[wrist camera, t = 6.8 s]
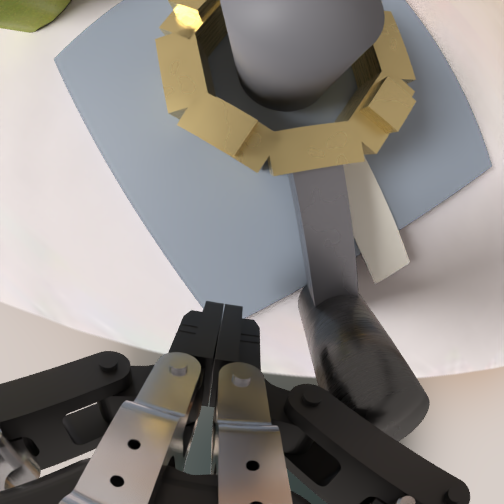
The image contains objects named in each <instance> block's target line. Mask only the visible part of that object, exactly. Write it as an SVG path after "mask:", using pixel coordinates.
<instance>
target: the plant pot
mask: <svg viewBox="0 0 504 504" xmlns="http://www.w3.org/2000/svg"><path fill="white" fill-rule="evenodd" d="M70 1H71V0H0V28H3V29H10V30H16V31H23V32H35V31H36V30H37V29H38V28H40V27H42V26H44V25H46V24H48V23H50V22H51V21H53V20H54V19H55V18H56V17H57V16H58V15H59V14H60V13H61V12H62V11H63V10H64V9H65V7H66V6H67V5H68V4H69V2H70Z"/></svg>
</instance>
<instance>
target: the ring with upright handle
mask: <svg viewBox="0 0 504 504" xmlns="http://www.w3.org/2000/svg"><path fill="white" fill-rule="evenodd" d="M168 2H169V4H170V5H171V7H172V9H173V11H172V12H171V14H170V15H169V16H168V17H167V18H166V19H165V21H164V22H163V23H162V24H161V25H160V27H159V29H160V30H161V31H162V32H163V34H164V35H165V36H163V37H160V38H157V39H155V43H156V49H157V55H158V61H159V67H160V73H161V78H162V84H163V89H164V95H165V100H166V105H167V110H168V114H170V115H172V116H174V117H176V118H178V119H179V122H178V124H177V125H178V126H179V127H181V128H183V129H185V130H187V131H188V132H190V133H192V134H194V135H195V136H197V137H199V138H201V139H202V140H204V141H206V142H207V143H209V144H211V145H212V146H214V147H216V148H218V149H219V150H221V151H223V152H224V153H226V154H227V155H229V156H231V157H232V158H234V159H236V160H237V161H239V162H241V163H242V164H244V165H245V166H247V167H249V168H250V169H252V170H253V171H255V172H256V173H258V172H259V170H260V169H261V167H262V166H263V164H264V163H265V161H266V160H267V161H268V166H269V171H270V174H271V175H273V176H278V175H284V174H288V177H289V182H290V187H291V192H292V198H293V203H294V208H295V214H296V219H297V225H298V230H299V236H300V242H301V248H302V254H303V260H304V266H305V272H306V279H307V284H306V285H305V287H304V288H303V289H302V291H301V293H300V296H299V300H298V308H299V312H300V316H301V320H302V323H303V327H304V331H305V335H306V339H307V343H308V347H309V350H310V354H311V358H312V362H313V366H314V370H315V374H316V379H317V383H318V386H319V387H321V388H323V389H325V390H326V391H327V392H329V393H330V394H331V395H333V396H334V397H335V398H337V399H338V400H339V401H341V402H342V403H344V404H345V405H346V406H348V407H349V408H350V409H352V410H353V411H355V412H356V413H357V414H359V415H360V416H361V417H363V418H364V419H366V420H367V421H369V422H370V423H371V424H373V425H374V426H376V427H377V428H379V429H380V430H381V431H383V432H384V433H386V434H387V435H389V436H390V437H392V438H393V439H395V440H396V441H400V440H401V439H403V438H404V437H406V436H407V435H408V434H410V433H411V432H412V431H413V430H414V429H415V428H416V427H417V426H418V425H419V424H420V423H421V422H422V420H423V419H424V417H425V415H426V413H427V411H428V409H429V398H428V396H427V394H426V393H425V391H424V389H423V388H422V386H421V385H420V383H419V381H418V380H417V378H416V377H415V375H414V373H413V372H412V370H411V369H410V367H409V366H408V364H407V362H406V361H405V359H404V358H403V356H402V355H401V353H400V352H399V350H398V349H397V347H396V346H395V344H394V343H393V341H392V340H391V338H390V337H389V335H388V334H387V332H386V331H385V330H384V328H383V327H382V325H381V324H380V322H379V321H378V319H377V318H376V317H375V315H374V314H373V312H372V311H371V309H370V308H369V307H368V305H367V304H366V302H365V301H364V300H363V298H362V297H361V296H360V294H359V293H358V280H357V267H356V256H355V246H354V236H353V228H352V220H351V212H350V205H349V198H348V191H347V185H346V179H345V173H344V167H343V164H350V163H357V162H365V159H364V155H368V154H377V153H378V151H379V150H380V148H381V146H382V145H383V143H384V142H385V140H386V139H387V137H388V135H389V134H390V133H394V132H398V131H399V129H400V128H401V126H402V125H403V123H404V121H405V120H406V118H407V116H408V115H409V113H410V111H411V109H412V108H413V106H414V104H415V103H416V100H415V99H413V98H412V96H413V94H414V93H415V91H414V90H413V89H412V88H411V87H409V86H408V85H407V84H408V83H410V82H412V81H414V80H416V78H415V75H414V72H413V68H412V65H411V62H410V59H409V56H408V53H407V50H406V47H405V45H404V42H403V39H402V37H401V34H400V32H399V29H398V27H397V24H396V22H395V19H394V17H393V15H392V13H391V11H384V14H385V20H384V27H383V30H382V32H381V35H380V36H379V38H378V39H377V41H376V42H375V43H374V44H373V45H372V46H371V47H370V48H369V49H368V50H366V51H365V52H364V53H363V54H362V55H361V56H360V57H359V58H358V59H357V60H356V61H355V62H354V63H353V64H352V65H351V66H352V70H353V73H354V77H355V80H356V84H357V87H358V88H357V90H356V91H355V93H354V94H353V96H352V97H351V98H350V100H349V101H348V103H347V104H346V106H345V107H344V109H343V110H342V112H341V113H340V115H339V116H338V117H337V119H336V120H335V122H334V123H326V124H318V125H311V126H304V127H298V128H292V129H286V130H280V131H272V130H271V129H269V128H268V127H266V126H264V125H263V124H261V123H260V122H258V120H257V119H255V118H253V117H252V116H250V115H248V114H247V113H245V112H243V111H242V110H240V109H238V108H236V107H235V106H233V105H231V104H229V103H227V102H226V101H224V100H222V99H220V98H218V97H217V96H216V94H215V89H214V85H213V80H212V76H211V72H210V67H209V63H208V57H209V56H210V54H211V53H212V52H213V51H214V49H215V48H216V47H217V46H218V44H219V43H220V42H221V41H222V39H223V38H224V37H225V36H226V35H227V33H228V32H227V28H226V24H225V19H224V15H223V11H222V7H221V3H220V0H168ZM381 2H382V1H381Z"/></svg>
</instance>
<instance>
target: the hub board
mask: <svg viewBox="0 0 504 504" xmlns="http://www.w3.org/2000/svg"><path fill="white" fill-rule="evenodd" d="M381 1H382V2H381ZM220 3H221V7H222V11H223V15H224V19H225V24H226V28H227V32H228V33H227V35H226V36H225V37H224V38H223V39H222V41H221V42H220V43H219V44H218V46H217V47H216V48H215V49H214V51H213V52H212V53H211V54H210V56H209V57H208V63H209V67H210V72H211V76H212V80H213V85H214V89H215V94H216V96H217V97H218V98H220V99H222V100H224V101H226V102H227V103H229V104H231V105H233V106H235V107H236V108H238V109H240V110H242V111H243V112H245V113H247V114H248V115H250V116H252V117H253V118H255V119H257V120H258V122H260V123H261V124H263V125H264V126H266V127H268V128H269V129H271V130H272V131H280V130H286V129H292V128H298V127H304V126H311V125H318V124H326V123H334V122H335V120H336V119H337V117H338V116H339V115H340V113H341V112H342V110H343V109H344V107H345V106H346V104H347V103H348V101H349V100H350V98H351V97H352V96H353V94H354V93H355V91H356V90H357V88H358V87H357V84H356V80H355V77H354V73H353V70H352V66H351V65H352V64H353V63H354V62H355V61H356V60H357V59H358V58H359V57H360V56H361V55H362V54H363V53H364V52H365V51H366V50H368V49H369V48H370V47H371V46H372V45H373V44H374V43H375V42H376V41H377V39H378V38H379V36H380V35H381V32H382V30H383V27H384V20H385V14H384V11H391V13H392V15H393V17H394V19H395V22H396V24H397V27H398V29H399V32H400V34H401V37H402V39H403V42H404V45H405V47H406V50H407V53H408V56H409V59H410V62H411V65H412V68H413V72H414V75H415V78H416V80H414V81H412V82H410V83H408V84H407V85H408V86H409V87H411V88H412V89H413V90H414V91H415V93H414V94H413V96H412V98H413V99H415V100H416V103H415V104H414V106H413V108H412V109H411V111H410V113H409V115H408V116H407V118H406V120H405V121H404V123H403V125H402V126H401V128H400V129H399V131H398V132H394V133H390V134H389V135H388V137H387V139H386V140H385V142H384V143H383V145H382V146H381V148H380V150H379V151H378V153H377V154H368V155H364V159H365V162H357V163H350V164H343V167H344V173H345V179H346V185H347V191H348V198H349V205H350V212H351V220H352V228H353V236H354V246H355V256H358V255H360V254H362V256H363V259H364V261H365V263H366V265H367V267H368V270H369V272H370V274H371V277H372V279H373V281H374V283H375V284H377V283H379V282H381V281H382V280H384V279H385V278H387V277H389V276H390V275H392V274H393V273H395V272H397V271H398V270H400V269H401V268H403V267H404V266H406V265H407V264H409V263H410V261H409V258H408V255H407V252H406V249H405V247H404V244H403V241H402V239H401V236H400V234H399V230H400V229H402V228H403V227H405V226H406V225H408V224H410V223H411V222H413V221H414V220H416V219H417V218H419V217H420V216H422V215H423V214H425V213H426V212H428V211H429V210H431V209H432V208H434V207H435V206H437V205H438V204H440V203H441V202H443V201H444V200H446V199H447V198H449V197H450V196H451V195H453V194H454V193H456V192H457V191H459V190H460V189H461V188H463V187H464V186H466V185H467V184H469V183H470V182H471V181H473V180H474V179H475V178H477V177H478V176H480V175H481V174H482V173H484V172H485V171H486V170H488V169H489V168H490V167H492V164H491V161H490V157H489V154H488V151H487V148H486V145H485V142H484V140H483V137H482V134H481V132H480V129H479V126H478V124H477V121H476V119H475V116H474V114H473V112H472V109H471V107H470V105H469V103H468V101H467V98H466V96H465V94H464V92H463V90H462V88H461V86H460V84H459V82H458V80H457V78H456V76H455V75H454V73H453V71H452V69H451V67H450V65H449V64H448V62H447V60H446V59H445V57H444V55H443V53H442V52H441V50H440V49H439V47H438V45H437V44H436V42H435V41H434V39H433V38H432V36H431V35H430V33H429V32H428V30H427V29H426V27H425V26H424V25H423V23H422V22H421V20H420V19H419V18H418V16H417V15H416V14H415V12H414V11H413V10H412V9H411V7H410V6H409V5H408V4H407V2H406V1H405V0H220ZM172 11H173V9H172V7H171V5H170V4H169V2H168V0H123V1H121V2H120V3H119V4H117V5H116V6H114V7H113V8H112V9H110V10H109V11H108V12H106V13H105V14H104V15H102V16H101V17H100V18H99V19H97V20H96V21H95V22H94V23H92V24H91V25H90V26H89V27H88V28H86V29H85V30H84V31H83V32H82V33H81V34H80V35H78V36H77V37H76V38H75V39H74V40H73V41H72V42H71V43H70V44H69V45H68V46H67V47H65V48H64V49H63V50H62V51H61V52H60V53H59V54H58V55H57V56H56V57H55V58H54V61H55V63H56V65H57V68H58V70H59V72H60V74H61V76H62V79H63V81H64V83H65V85H66V87H67V89H68V91H69V93H70V95H71V97H72V99H73V101H74V103H75V105H76V107H77V109H78V111H79V113H80V115H81V117H82V119H83V121H84V123H85V125H86V127H87V129H88V130H89V132H90V134H91V136H92V138H93V140H94V142H95V143H96V145H97V147H98V149H99V151H100V152H101V154H102V156H103V158H104V159H105V161H106V163H107V165H108V166H109V168H110V170H111V171H112V173H113V175H114V177H115V178H116V180H117V182H118V183H119V185H120V187H121V188H122V190H123V191H124V193H125V195H126V196H127V198H128V200H129V201H130V203H131V204H132V206H133V208H134V209H135V211H136V212H137V214H138V215H139V217H140V219H141V220H142V222H143V223H144V225H145V226H146V228H147V229H148V231H149V232H150V234H151V235H152V237H153V238H154V240H155V241H156V243H157V244H158V246H159V247H160V249H161V250H162V252H163V253H164V255H165V256H166V258H167V259H168V261H169V262H170V263H171V265H172V266H173V268H174V269H175V271H176V272H177V273H178V275H179V276H180V278H181V279H182V280H183V282H184V283H185V285H186V286H187V287H188V289H189V290H190V291H191V293H192V294H193V295H194V297H195V298H196V300H197V301H198V302H199V304H200V305H201V306H202V308H203V309H204V306H205V303H206V301H212V302H218V303H224V307H225V304H231V305H237V306H243V311H242V318H243V319H244V318H246V317H248V316H250V315H252V314H254V313H256V312H258V311H259V310H261V309H263V308H265V307H267V306H269V305H271V304H273V303H275V302H277V301H278V300H280V299H282V298H284V297H286V296H288V295H290V294H291V293H293V292H295V291H297V290H299V289H300V288H302V287H304V286H305V285H306V284H307V279H306V272H305V266H304V260H303V254H302V248H301V242H300V236H299V230H298V225H297V219H296V214H295V208H294V203H293V198H292V192H291V187H290V182H289V177H288V174H284V175H278V176H273V175H271V174H270V171H269V166H268V161H267V160H266V161H265V163H264V164H263V166H262V167H261V169H260V170H259V172H258V173H256V172H255V171H253V170H252V169H250V168H249V167H247V166H245V165H244V164H242V163H241V162H239V161H237V160H236V159H234V158H232V157H231V156H229V155H227V154H226V153H224V152H223V151H221V150H219V149H218V148H216V147H214V146H212V145H211V144H209V143H207V142H206V141H204V140H202V139H201V138H199V137H197V136H195V135H194V134H192V133H190V132H188V131H187V130H185V129H183V128H181V127H179V126H178V125H177V124H178V122H179V119H178V118H176V117H174V116H172V115H170V114H168V110H167V105H166V100H165V95H164V89H163V84H162V78H161V73H160V67H159V61H158V55H157V49H156V43H155V39H157V38H160V37H163V36H165V35H164V34H163V32H162V31H161V30H160V29H159V27H160V25H161V24H162V23H163V22H164V21H165V19H166V18H167V17H168V16H169V15H170V14H171V12H172ZM223 313H224V308H223ZM222 318H223V315H222Z"/></svg>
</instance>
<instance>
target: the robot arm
mask: <svg viewBox="0 0 504 504" xmlns="http://www.w3.org/2000/svg"><path fill="white" fill-rule="evenodd" d="M223 308H224V313H223ZM242 311H243V306H237V305H231V304H225V307H224V303H218V302H212V301H206V303H205V306H204V309H203V312H199V311H193V310H191V311H190V312H189V313H187V314H186V315H184V317H183V319H182V321H181V324H180V326H179V328H178V331H177V333H176V336H175V338H174V340H173V343H172V345H171V348H170V350H169V353H167V354H165V355H163V356H161V357H160V358H159V359H158V360H157V362H156V364H155V365H150V366H130V362H129V360H128V359H127V358H126V357H125V356H124V355H122V354H120V353H117V352H113V351H104V352H100V353H97V354H94V355H91V356H88V357H85V358H82V359H79V360H76V361H73V362H70V363H67V364H64V365H61V366H58V367H55V368H52V369H49V370H46V371H42V372H40V373H36V374H33V375H29V376H27V377H23V378H20V379H17V380H13V381H9V382H6V383H2V384H0V504H311V503H310V502H308V501H307V500H306V499H304V498H303V497H301V496H300V495H298V494H296V493H294V492H292V491H290V486H289V480H288V475H287V470H286V468H287V469H288V470H289V471H290V472H292V473H293V474H294V475H295V476H296V477H297V478H298V479H299V480H300V481H302V482H303V483H304V484H305V485H306V486H307V487H308V488H310V489H311V490H312V491H313V492H314V493H315V494H317V495H318V496H319V497H320V498H321V499H323V500H324V501H325V502H326V503H328V504H469V501H470V492H469V489H468V487H467V486H466V484H465V483H464V482H463V481H461V480H459V479H458V478H456V477H454V476H453V475H451V474H449V473H447V472H446V471H444V470H442V469H441V468H439V467H437V466H435V465H434V464H432V463H431V462H429V461H427V460H426V459H424V458H422V457H421V456H419V455H418V454H416V453H414V452H413V451H412V450H410V449H408V448H407V447H405V446H404V445H402V444H401V443H399V442H398V441H396V440H395V439H393V438H392V437H390V436H389V435H387V434H386V433H384V432H383V431H381V430H380V429H379V428H377V427H376V426H374V425H373V424H371V423H370V422H369V421H367V420H366V419H364V418H363V417H361V416H360V415H359V414H357V413H356V412H355V411H353V410H352V409H350V408H349V407H348V406H346V405H345V404H344V403H342V402H341V401H339V400H338V399H337V398H335V397H334V396H333V395H331V394H330V393H329V392H327V391H326V390H325V389H323V388H321V387H319V386H316V385H311V384H302V385H298V386H295V387H294V388H293V389H292V390H291V391H287V390H285V389H281V388H278V387H276V386H274V385H272V384H270V383H269V382H268V381H267V380H266V379H265V378H264V375H263V373H262V372H261V366H260V328H259V326H258V325H257V323H256V322H255V321H254V320H251V319H243V318H242ZM222 315H223V318H222ZM211 385H212V387H211ZM210 390H211V397H210V407H215V408H214V416H213V425H212V450H211V474H210V475H190V474H187V473H184V467H185V462H186V458H187V455H188V452H189V449H190V445H191V442H192V439H193V435H194V432H195V429H196V426H197V421H198V417H199V415H200V410H201V405H203V406H208V402H209V396H210ZM96 402H97V404H95V405H92V406H90V407H87V408H84V409H82V410H79V411H77V412H74V413H71V414H69V415H66V414H68V413H70V412H73V411H75V410H78V409H81V408H83V407H86V406H88V405H91V404H93V403H96ZM65 415H66V416H65ZM95 448H96V450H95V452H94V454H93V455H92V457H91V458H88V459H85V460H81V461H78V462H76V463H74V464H71V465H69V466H67V467H65V468H62V469H60V470H58V471H55V472H53V473H51V474H48V475H45V476H43V477H40V472H41V470H43V469H45V468H48V467H51V466H54V465H56V464H59V463H62V462H64V461H67V460H69V459H72V458H74V457H77V456H79V455H82V454H84V453H86V452H89V451H91V450H93V449H95ZM39 477H40V478H39Z"/></svg>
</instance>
